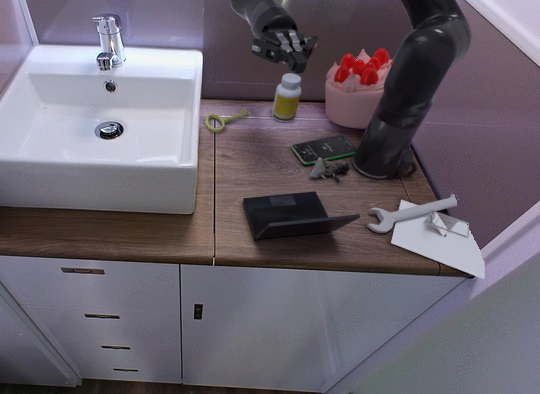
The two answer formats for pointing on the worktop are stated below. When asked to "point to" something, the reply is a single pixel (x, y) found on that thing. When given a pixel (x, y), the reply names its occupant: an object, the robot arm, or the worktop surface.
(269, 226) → the laptop screen
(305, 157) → the smartphone
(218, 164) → the worktop surface
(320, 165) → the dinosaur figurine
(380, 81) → the cake
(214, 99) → the worktop surface
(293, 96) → the pill bottle
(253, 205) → the laptop
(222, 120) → the key
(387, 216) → the wrench
